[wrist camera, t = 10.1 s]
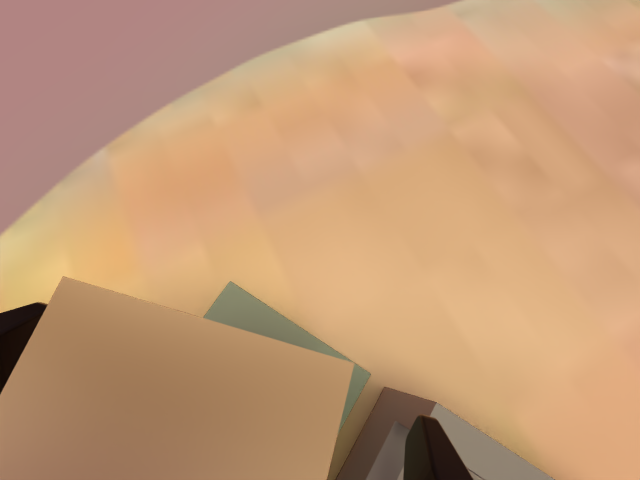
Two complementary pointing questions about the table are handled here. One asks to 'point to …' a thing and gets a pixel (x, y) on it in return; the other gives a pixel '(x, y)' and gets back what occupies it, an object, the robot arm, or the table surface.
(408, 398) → the tray
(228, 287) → the mat
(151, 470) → the birch block
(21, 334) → the robot arm
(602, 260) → the table surface
